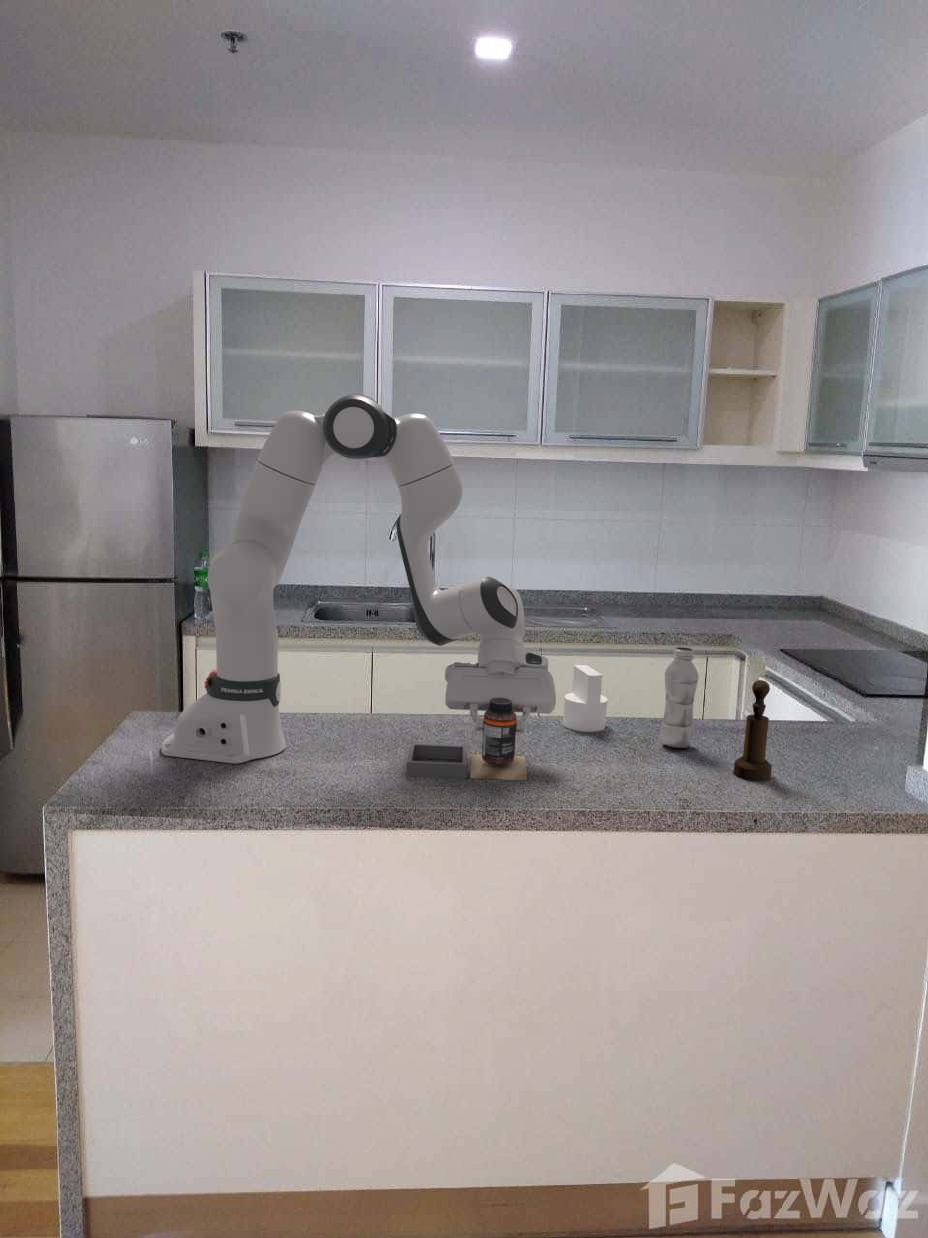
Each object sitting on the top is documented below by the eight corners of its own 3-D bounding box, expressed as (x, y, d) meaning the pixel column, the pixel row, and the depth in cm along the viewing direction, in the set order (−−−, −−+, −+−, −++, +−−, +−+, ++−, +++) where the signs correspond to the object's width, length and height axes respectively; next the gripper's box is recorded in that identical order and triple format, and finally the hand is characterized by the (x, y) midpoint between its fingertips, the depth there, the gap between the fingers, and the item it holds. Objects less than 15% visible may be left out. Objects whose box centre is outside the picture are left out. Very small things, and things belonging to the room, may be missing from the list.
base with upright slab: (612, 730, 200) (616, 675, 198) (571, 732, 198) (575, 676, 195) (595, 718, 208) (599, 664, 206) (556, 719, 206) (560, 665, 204)
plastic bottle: (687, 754, 187) (696, 654, 183) (654, 747, 190) (662, 649, 186) (697, 745, 192) (705, 648, 188) (664, 739, 195) (672, 643, 192)
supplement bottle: (494, 752, 177) (498, 693, 175) (520, 760, 174) (524, 700, 172) (474, 759, 173) (478, 699, 171) (500, 768, 169) (504, 706, 167)
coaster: (470, 778, 169) (470, 772, 168) (470, 759, 178) (470, 754, 178) (526, 780, 169) (527, 775, 168) (524, 761, 178) (524, 756, 178)
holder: (406, 775, 168) (406, 762, 168) (410, 755, 179) (410, 743, 178) (466, 778, 168) (466, 765, 168) (466, 758, 179) (467, 745, 178)
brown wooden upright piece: (759, 768, 180) (769, 676, 177) (777, 780, 174) (788, 685, 170) (727, 769, 179) (736, 676, 175) (744, 782, 172) (754, 685, 169)
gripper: (445, 653, 177) (441, 719, 169) (556, 658, 177) (557, 724, 169) (445, 670, 182) (441, 735, 174) (553, 675, 182) (553, 741, 174)
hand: (499, 730), depth 172 cm, fingers closed on supplement bottle, 6 cm apart
